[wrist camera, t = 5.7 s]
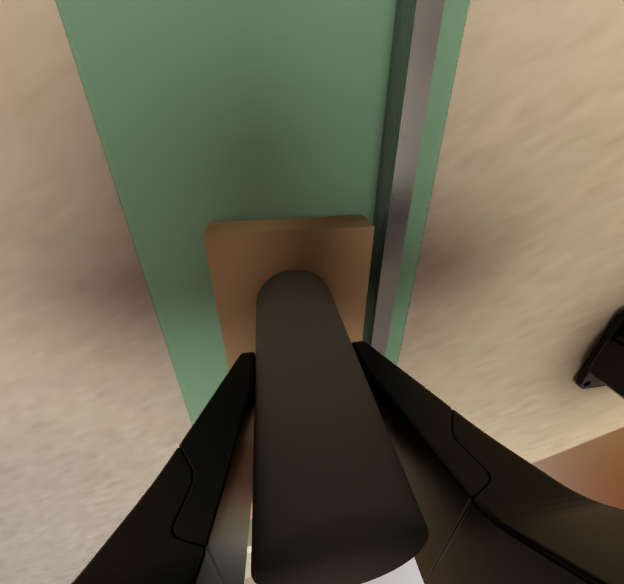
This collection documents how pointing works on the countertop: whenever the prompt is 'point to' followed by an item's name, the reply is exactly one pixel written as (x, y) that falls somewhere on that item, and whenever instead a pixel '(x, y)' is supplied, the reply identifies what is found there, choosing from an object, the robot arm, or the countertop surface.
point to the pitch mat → (245, 135)
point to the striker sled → (312, 401)
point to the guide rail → (399, 155)
